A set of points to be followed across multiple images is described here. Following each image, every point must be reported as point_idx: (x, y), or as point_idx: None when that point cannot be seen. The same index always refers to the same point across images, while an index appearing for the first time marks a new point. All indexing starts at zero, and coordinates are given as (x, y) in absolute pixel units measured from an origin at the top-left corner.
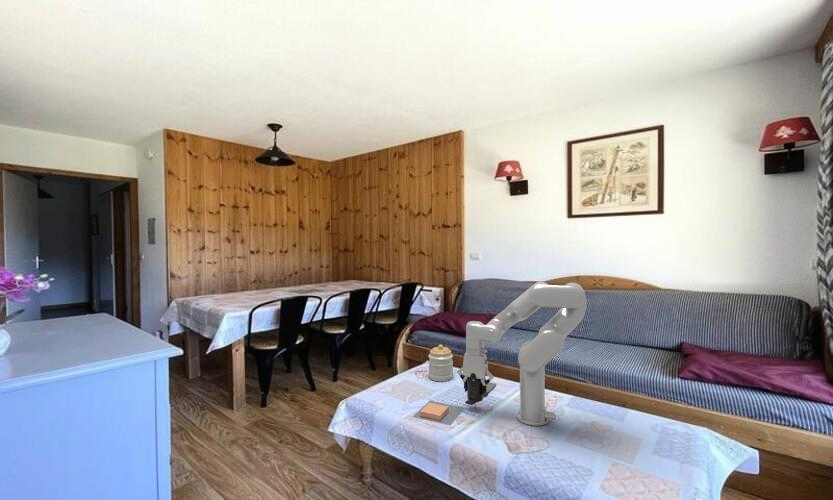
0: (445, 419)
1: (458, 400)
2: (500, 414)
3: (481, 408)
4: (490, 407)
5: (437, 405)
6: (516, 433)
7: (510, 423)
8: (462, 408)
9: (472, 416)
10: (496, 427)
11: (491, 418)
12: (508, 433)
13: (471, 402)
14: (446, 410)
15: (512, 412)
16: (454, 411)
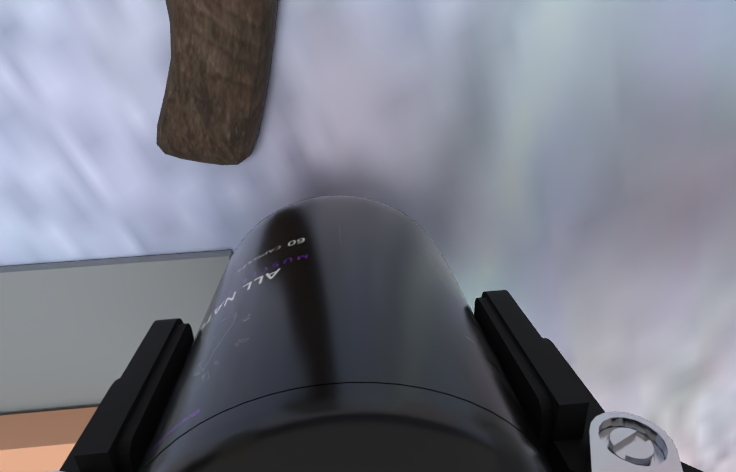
0: None
1: (24, 78)
2: (590, 186)
3: (374, 152)
4: (459, 77)
5: (4, 467)
6: (728, 401)
7: (687, 298)
8: (210, 284)
9: None
10: None
11: (522, 296)
12: (674, 425)
13: (241, 155)
14: None
15: (707, 81)
16: None
